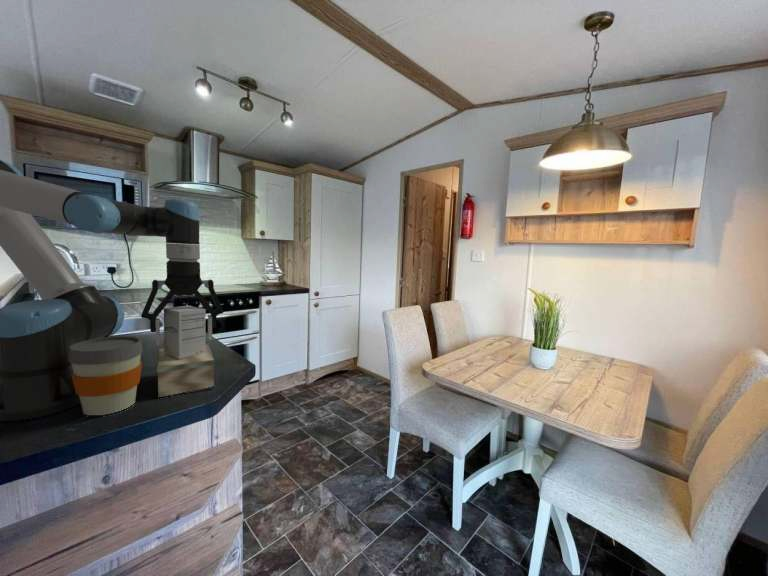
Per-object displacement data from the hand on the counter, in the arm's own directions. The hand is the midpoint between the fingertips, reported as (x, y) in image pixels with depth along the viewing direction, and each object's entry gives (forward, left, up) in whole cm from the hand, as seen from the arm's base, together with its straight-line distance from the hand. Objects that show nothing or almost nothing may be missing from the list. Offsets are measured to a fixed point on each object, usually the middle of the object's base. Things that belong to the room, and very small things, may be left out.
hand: (185, 341), depth 87 cm
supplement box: (0, 0, -4) cm, 4 cm away
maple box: (0, 0, -12) cm, 12 cm away
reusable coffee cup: (-15, -8, -12) cm, 21 cm away
